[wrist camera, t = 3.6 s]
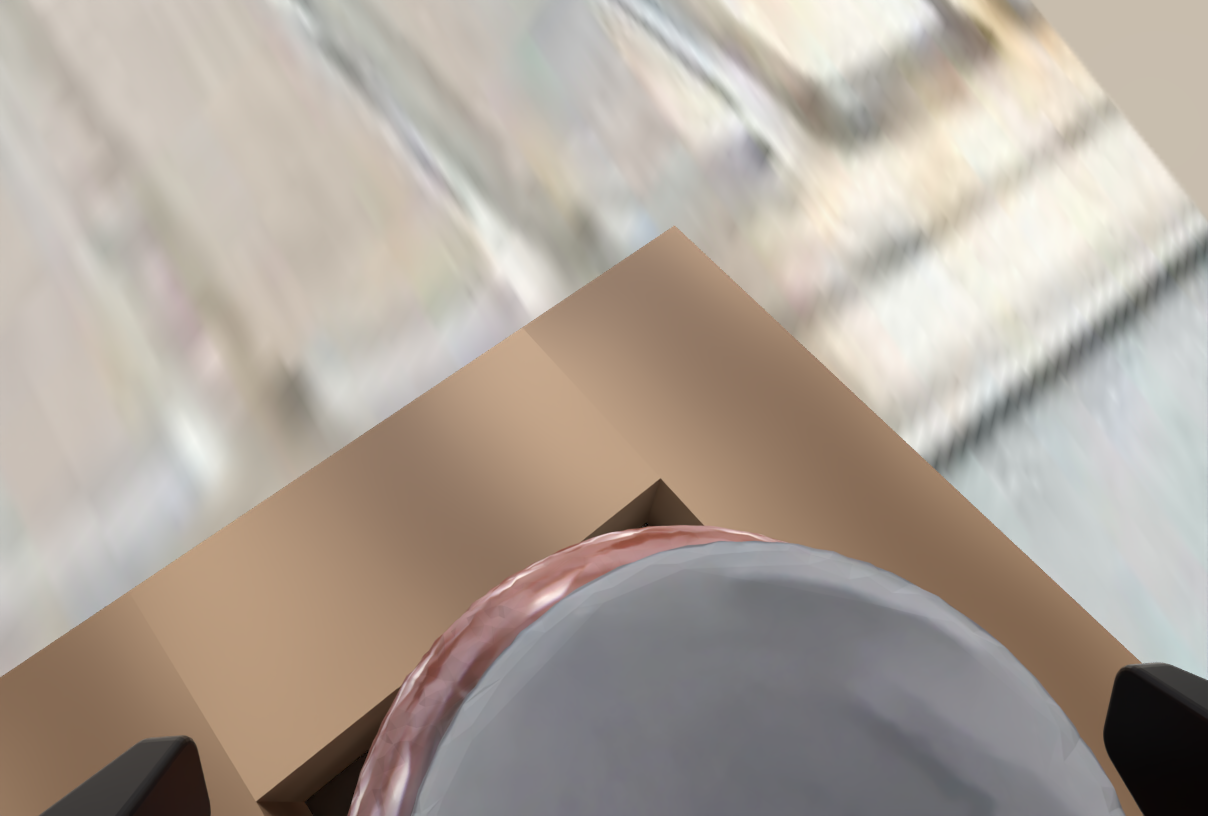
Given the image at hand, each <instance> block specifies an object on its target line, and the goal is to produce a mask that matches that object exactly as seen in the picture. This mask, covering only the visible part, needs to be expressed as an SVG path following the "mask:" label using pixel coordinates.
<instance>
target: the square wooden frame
mask: <svg viewBox="0 0 1208 816" xmlns="http://www.w3.org/2000/svg"><path fill="white" fill-rule="evenodd" d="M645 523H648V524H649V525H650V526H676V525H689V526H716V527H722V528H727V529H732V530H738V531H744V532H751V533H758V534H761V535H764V536H766V537H769V538H773V539H777V540H781V541H785V542H788V543H794V544H800V545H803V546H807V547H811V548H814V549H821V550H828V551H834V552H837V553H839V554H841V555H844V556H846V557H849V558H853V559H857V560H861V561H865V562H869V563H871V564H873V565H874V566H876V567H879V568H881V569H884V570H887V571H889V572H892V573H894V574H896V575H898V576H900V577H902V578H904V579H906V580H908V581H909V582H911V583H913V584H915V585H916V586H918V587H920V588H921V589H923V590H926V591H928V592H930V593H932V594H935V595H937V596H939V597H940V598H941V599H943V600H944V601H945V602H947V603H948V604H949V605H951V606H952V607H953V608H955V609H956V610H958V611H959V612H961V613H962V614H964V615H965V616H967V617H968V618H970V619H971V620H973V621H974V622H975V623H977V624H978V625H979V626H981V627H982V628H984V629H985V630H986V631H987V632H988V633H989V634H991V635H992V636H993V637H994V638H995V639H997V640H998V641H999V642H1000V643H1001V644H1002V645H1004V646H1005V647H1006V648H1007V649H1008V650H1009V651H1010V652H1011V653H1012V654H1013V655H1014V656H1015V657H1016V658H1017V659H1018V660H1019V661H1020V663H1021V664H1022V665H1024V666H1025V667H1026V668H1027V669H1028V670H1029V671H1030V672H1031V673H1032V674H1033V675H1034V676H1035V677H1036V678H1037V679H1038V681H1039V682H1040V683H1041V684H1042V686H1043V687H1044V688H1045V689H1046V691H1047V692H1048V693H1049V694H1050V696H1051V697H1052V698H1053V699H1054V700H1055V702H1056V703H1057V704H1058V705H1059V706H1060V707H1061V709H1062V710H1063V711H1064V713H1065V714H1066V715H1067V716H1068V718H1069V719H1070V720H1071V722H1072V723H1073V724H1074V726H1075V727H1076V729H1077V731H1078V733H1079V735H1080V737H1081V738H1082V739H1083V740H1084V742H1085V743H1086V744H1087V745H1088V746H1089V747H1090V748H1091V750H1092V752H1093V753H1094V755H1095V757H1096V758H1097V760H1098V761H1099V763H1100V765H1101V766H1102V768H1103V770H1104V771H1105V773H1106V775H1107V776H1108V778H1109V780H1110V781H1111V783H1112V785H1113V787H1114V789H1115V791H1116V794H1117V796H1118V799H1119V801H1120V804H1121V806H1122V809H1123V811H1124V813H1125V815H1126V816H1143V814H1142V812H1141V811H1140V809H1139V807H1138V806H1137V804H1136V802H1135V801H1134V799H1133V797H1132V795H1131V794H1130V792H1129V790H1128V789H1127V787H1126V785H1125V784H1124V782H1123V780H1122V779H1121V777H1120V775H1119V774H1118V772H1117V770H1116V768H1115V767H1114V765H1113V763H1112V762H1111V760H1110V758H1109V756H1108V754H1107V751H1106V748H1105V745H1104V740H1103V727H1104V723H1105V718H1106V714H1107V710H1108V705H1109V701H1110V697H1111V692H1112V688H1113V683H1114V679H1115V676H1116V674H1117V672H1118V671H1119V670H1120V669H1121V668H1122V667H1124V666H1126V665H1130V664H1142V663H1141V662H1140V661H1139V660H1138V659H1137V658H1136V657H1135V656H1134V655H1133V654H1132V653H1130V652H1129V651H1128V650H1127V649H1126V648H1125V647H1124V646H1123V645H1122V644H1121V643H1120V642H1119V641H1118V640H1117V639H1115V638H1114V637H1113V636H1112V635H1111V634H1110V633H1109V632H1108V631H1107V630H1106V629H1105V628H1104V627H1103V626H1102V625H1101V624H1099V623H1098V622H1097V621H1096V620H1095V619H1094V618H1093V617H1092V616H1091V615H1090V614H1089V613H1088V612H1087V611H1086V610H1085V609H1083V608H1082V607H1081V606H1080V605H1079V604H1078V603H1077V602H1076V601H1075V600H1074V599H1073V598H1072V597H1071V596H1070V595H1069V594H1067V593H1066V592H1065V591H1064V590H1063V589H1062V588H1061V587H1060V586H1059V585H1058V584H1057V583H1056V582H1055V581H1054V580H1052V579H1051V578H1050V577H1049V576H1048V575H1047V574H1046V573H1045V572H1044V571H1043V570H1042V569H1041V568H1040V567H1039V566H1038V565H1036V564H1035V563H1034V562H1033V561H1032V560H1031V559H1030V558H1029V557H1028V556H1027V555H1026V554H1025V553H1024V552H1023V551H1022V550H1020V549H1019V548H1018V547H1017V546H1016V545H1015V544H1014V543H1013V542H1012V541H1011V540H1010V539H1009V538H1008V537H1007V536H1006V535H1004V534H1003V533H1002V532H1001V531H1000V530H999V529H998V528H997V527H996V526H995V525H994V524H993V523H992V522H991V521H989V520H988V519H987V518H986V517H985V516H984V515H983V514H982V513H981V512H980V511H979V510H978V509H977V508H976V507H975V506H973V505H972V504H971V503H970V502H969V501H968V500H967V499H966V498H965V497H964V496H963V495H962V494H961V493H960V492H959V491H957V490H956V489H955V488H954V487H953V486H952V485H951V484H950V483H949V482H948V481H947V480H946V479H945V478H944V477H943V476H941V475H940V474H939V473H938V472H937V471H936V470H935V469H934V468H933V467H932V466H931V465H930V464H929V463H928V462H927V461H925V460H924V459H923V458H922V457H921V456H920V455H919V454H918V453H917V452H916V451H915V450H914V449H913V448H912V447H910V446H909V445H908V444H907V443H906V442H905V441H904V440H903V439H902V438H901V437H900V436H899V435H898V434H897V433H896V432H894V431H893V430H892V429H891V428H890V427H889V426H888V425H887V424H886V423H885V422H884V421H883V420H882V419H881V418H880V417H878V416H877V415H876V414H875V413H874V412H873V411H872V410H871V409H870V408H869V407H868V406H867V405H866V404H865V403H864V402H862V401H861V400H860V399H859V398H858V397H857V396H856V395H855V394H854V393H853V392H852V391H851V390H850V389H849V388H847V387H846V386H845V385H844V384H843V383H842V382H841V381H840V380H839V379H838V378H837V377H836V376H835V375H834V374H833V373H831V372H830V371H829V370H828V369H827V368H826V367H825V366H824V365H823V364H822V363H821V362H820V361H819V360H818V359H817V358H815V357H814V356H813V355H812V354H811V353H810V352H809V351H808V350H807V349H806V348H805V347H804V346H803V345H802V344H801V343H799V342H798V341H797V340H796V339H795V338H794V337H793V336H792V335H791V334H790V333H789V332H788V331H787V330H786V329H784V328H783V327H782V326H781V325H780V324H779V323H778V322H777V321H776V320H775V319H774V318H773V317H772V316H771V315H770V314H768V313H767V312H766V311H765V310H764V309H763V308H762V307H761V306H760V305H759V304H758V303H757V302H756V301H755V300H754V299H752V298H751V297H750V296H749V295H748V294H747V293H746V292H745V291H744V290H743V289H742V288H741V287H740V286H739V285H738V284H736V283H735V282H734V281H733V280H732V279H731V278H730V277H729V276H728V275H727V274H726V273H725V272H724V271H723V270H721V269H720V268H719V267H718V266H717V265H716V264H715V263H714V262H713V261H712V260H711V259H710V258H709V257H708V256H707V255H705V254H704V253H703V252H702V251H701V250H700V249H699V248H698V247H697V246H696V245H695V244H694V243H693V242H692V241H691V240H689V239H688V238H687V237H686V236H685V235H684V234H683V233H682V232H681V231H680V230H679V229H678V228H677V227H676V226H673V227H672V228H670V229H669V230H667V231H666V232H664V233H663V234H661V235H660V236H658V237H657V238H655V239H654V240H652V241H651V242H649V243H648V244H646V245H645V246H643V247H642V248H640V249H639V250H637V251H636V252H634V253H633V254H631V255H630V256H628V257H627V258H625V259H624V260H622V261H621V262H619V263H618V264H616V265H615V266H613V267H612V268H611V269H609V270H608V271H606V272H605V273H603V274H602V275H600V276H599V277H597V278H596V279H594V280H593V281H591V282H590V283H588V284H587V285H585V286H584V287H582V288H581V289H579V290H578V291H576V292H575V293H573V294H572V295H570V296H569V297H567V298H566V299H564V300H563V301H561V302H560V303H558V304H557V305H555V306H554V307H552V308H551V309H549V310H548V311H546V312H545V313H543V314H542V315H540V316H539V317H537V318H536V319H534V320H533V321H531V322H530V323H528V324H527V325H525V326H524V327H522V328H521V329H520V330H518V331H517V332H515V333H514V334H512V335H511V336H509V337H508V338H506V339H505V340H503V341H502V342H500V343H499V344H497V345H496V346H494V347H493V348H491V349H490V350H488V351H487V352H485V353H484V354H482V355H481V356H479V357H478V358H476V359H475V360H473V361H472V362H470V363H469V364H467V365H466V366H464V367H463V368H461V369H460V370H458V371H457V372H455V373H454V374H452V375H451V376H449V377H448V378H446V379H445V380H443V381H442V382H440V383H439V384H437V385H436V386H434V387H433V388H431V389H430V390H428V391H427V392H426V393H424V394H423V395H421V396H420V397H418V398H417V399H415V400H414V401H412V402H411V403H409V404H408V405H406V406H405V407H403V408H402V409H400V410H399V411H397V412H396V413H394V414H393V415H391V416H390V417H388V418H387V419H385V420H384V421H382V422H381V423H379V424H378V425H376V426H375V427H373V428H372V429H370V430H369V431H367V432H366V433H364V434H363V435H361V436H360V437H358V438H357V439H355V440H354V441H352V442H351V443H349V444H348V445H346V446H345V447H343V448H342V449H340V450H339V451H337V452H336V453H334V454H333V455H332V456H330V457H329V458H327V459H326V460H324V461H323V462H321V463H320V464H318V465H317V466H315V467H314V468H312V469H311V470H309V471H308V472H306V473H305V474H303V475H302V476H300V477H299V478H297V479H296V480H294V481H293V482H291V483H290V484H288V485H287V486H285V487H284V488H282V489H281V490H279V491H278V492H276V493H275V494H273V495H272V496H270V497H269V498H267V499H266V500H264V501H263V502H261V503H260V504H258V505H257V506H255V507H254V508H252V509H251V510H249V511H248V512H246V513H245V514H243V515H242V516H240V517H239V518H238V519H236V520H235V521H233V522H232V523H230V524H229V525H227V526H226V527H224V528H223V529H221V530H220V531H218V532H217V533H215V534H214V535H212V536H211V537H209V538H208V539H206V540H205V541H203V542H202V543H200V544H199V545H197V546H196V547H194V548H193V549H191V550H190V551H188V552H187V553H185V554H184V555H182V556H181V557H179V558H178V559H176V560H175V561H173V562H172V563H170V564H169V565H167V566H166V567H164V568H163V569H161V570H160V571H158V572H157V573H155V574H154V575H152V576H151V577H149V578H148V579H146V580H145V581H144V582H142V583H141V584H139V585H138V586H136V587H135V588H133V589H132V590H130V591H129V592H127V593H126V594H124V595H123V596H121V597H120V598H118V599H117V600H115V601H114V602H112V603H111V604H109V605H108V606H106V607H105V608H103V609H102V610H100V611H99V612H97V613H96V614H94V615H93V616H91V617H90V618H88V619H87V620H85V621H84V622H82V623H81V624H79V625H78V626H76V627H75V628H73V629H72V630H70V631H69V632H67V633H66V634H64V635H63V636H61V637H60V638H58V639H57V640H55V641H54V642H52V643H51V644H50V645H48V646H47V647H45V648H44V649H42V650H41V651H39V652H38V653H36V654H35V655H33V656H32V657H30V658H29V659H27V660H26V661H24V662H23V663H21V664H20V665H18V666H17V667H15V668H14V669H12V670H11V671H9V672H8V673H6V674H5V675H3V676H2V677H0V816H38V815H40V814H41V813H42V812H44V811H45V810H47V809H48V808H49V807H51V806H52V805H53V804H55V803H56V802H57V801H59V800H60V799H62V798H63V797H64V796H66V795H67V794H68V793H70V792H71V791H72V790H74V789H75V788H76V787H78V786H79V785H81V784H82V783H83V782H85V781H86V780H87V779H89V778H90V777H91V776H93V775H94V774H95V773H97V772H98V771H100V770H101V769H102V768H104V767H105V766H106V765H108V764H109V763H110V762H112V761H113V760H114V759H116V758H117V757H119V756H120V755H121V754H123V753H124V752H125V751H127V750H128V749H129V748H131V747H132V746H133V745H135V744H136V743H138V742H140V741H141V740H143V739H147V738H151V737H164V736H178V735H186V736H189V737H191V738H192V739H193V740H194V742H195V743H196V746H197V748H198V752H199V756H200V761H201V765H202V769H203V774H204V778H205V782H206V787H207V791H208V795H209V800H210V806H211V816H313V815H312V813H311V812H310V810H309V808H308V807H307V805H306V804H305V801H306V800H307V799H309V798H310V797H311V796H312V795H313V794H315V793H316V792H317V791H318V790H320V789H321V788H322V787H323V786H325V785H326V784H327V783H328V782H329V781H331V780H332V779H333V778H334V777H336V776H337V775H338V774H339V773H340V772H342V771H343V770H344V769H345V768H347V767H348V766H349V765H350V764H351V763H353V762H354V761H355V760H356V759H358V758H359V757H360V756H361V755H362V754H364V753H365V752H366V751H367V750H369V749H370V747H371V745H372V742H373V740H374V738H375V737H376V735H377V733H378V730H379V728H380V725H381V723H382V721H383V719H384V717H385V716H386V714H387V712H388V710H389V709H390V707H391V705H392V703H393V701H394V699H395V697H396V695H397V693H398V691H399V689H400V687H401V685H402V683H403V681H404V679H405V677H406V676H407V675H408V674H409V673H411V672H412V671H413V670H414V669H415V668H416V666H417V665H418V663H419V662H420V661H421V659H422V657H423V655H424V654H426V653H427V652H428V651H429V649H430V648H431V646H432V644H433V643H434V641H435V640H436V639H437V638H438V637H440V636H441V635H442V634H443V633H444V632H446V630H447V629H448V628H449V627H450V626H451V625H452V624H453V623H454V622H455V621H456V620H457V619H459V618H460V617H461V616H462V615H463V614H464V613H465V611H466V610H467V609H468V608H469V607H470V606H471V604H472V603H473V602H475V601H476V600H478V599H480V598H481V597H483V596H484V595H486V594H487V593H488V591H489V590H490V589H492V588H494V587H495V586H497V585H499V584H500V583H501V582H502V581H503V580H505V579H506V578H507V577H509V576H511V575H513V574H515V573H517V572H519V571H521V570H523V569H525V568H526V567H527V566H529V565H531V564H533V563H534V562H537V561H540V560H542V559H544V558H546V557H548V556H550V555H552V554H554V553H555V552H557V551H559V550H561V549H564V548H566V547H568V546H571V545H574V544H577V543H580V542H583V541H585V540H588V539H591V538H593V537H597V536H600V535H603V534H606V533H611V532H619V531H624V530H628V529H638V528H640V527H642V526H643V525H644V524H645Z"/></svg>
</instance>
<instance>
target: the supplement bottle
mask: <svg viewBox="0 0 1208 816" xmlns="http://www.w3.org/2000/svg"><path fill="white" fill-rule="evenodd" d="M347 816H1126V815H1125V813H1124V811H1123V809H1122V806H1121V804H1120V801H1119V799H1118V796H1117V794H1116V791H1115V789H1114V787H1113V785H1112V783H1111V781H1110V780H1109V778H1108V776H1107V775H1106V773H1105V771H1104V770H1103V768H1102V766H1101V765H1100V763H1099V761H1098V760H1097V758H1096V757H1095V755H1094V753H1093V752H1092V750H1091V748H1090V747H1089V746H1088V745H1087V744H1086V743H1085V742H1084V740H1083V739H1082V738H1081V737H1080V735H1079V733H1078V731H1077V729H1076V727H1075V726H1074V724H1073V723H1072V722H1071V720H1070V719H1069V718H1068V716H1067V715H1066V714H1065V713H1064V711H1063V710H1062V709H1061V707H1060V706H1059V705H1058V704H1057V703H1056V702H1055V700H1054V699H1053V698H1052V697H1051V696H1050V694H1049V693H1048V692H1047V691H1046V689H1045V688H1044V687H1043V686H1042V684H1041V683H1040V682H1039V681H1038V679H1037V678H1036V677H1035V676H1034V675H1033V674H1032V673H1031V672H1030V671H1029V670H1028V669H1027V668H1026V667H1025V666H1024V665H1022V664H1021V663H1020V661H1019V660H1018V659H1017V658H1016V657H1015V656H1014V655H1013V654H1012V653H1011V652H1010V651H1009V650H1008V649H1007V648H1006V647H1005V646H1004V645H1002V644H1001V643H1000V642H999V641H998V640H997V639H995V638H994V637H993V636H992V635H991V634H989V633H988V632H987V631H986V630H985V629H984V628H982V627H981V626H979V625H978V624H977V623H975V622H974V621H973V620H971V619H970V618H968V617H967V616H965V615H964V614H962V613H961V612H959V611H958V610H956V609H955V608H953V607H952V606H951V605H949V604H948V603H947V602H945V601H944V600H943V599H941V598H940V597H939V596H937V595H935V594H932V593H930V592H928V591H926V590H923V589H921V588H920V587H918V586H916V585H915V584H913V583H911V582H909V581H908V580H906V579H904V578H902V577H900V576H898V575H896V574H894V573H892V572H889V571H887V570H884V569H881V568H879V567H876V566H874V565H873V564H871V563H869V562H865V561H861V560H857V559H853V558H849V557H846V556H844V555H841V554H839V553H837V552H834V551H828V550H821V549H814V548H811V547H807V546H803V545H800V544H794V543H788V542H785V541H781V540H777V539H773V538H769V537H766V536H764V535H761V534H758V533H751V532H744V531H738V530H732V529H727V528H722V527H716V526H689V525H676V526H648V527H643V528H638V529H628V530H624V531H619V532H611V533H606V534H603V535H600V536H597V537H593V538H591V539H588V540H585V541H583V542H580V543H577V544H574V545H571V546H568V547H566V548H564V549H561V550H559V551H557V552H555V553H554V554H552V555H550V556H548V557H546V558H544V559H542V560H540V561H537V562H534V563H533V564H531V565H529V566H527V567H526V568H525V569H523V570H521V571H519V572H517V573H515V574H513V575H511V576H509V577H507V578H506V579H505V580H503V581H502V582H501V583H500V584H499V585H497V586H495V587H494V588H492V589H490V590H489V591H488V593H487V594H486V595H484V596H483V597H481V598H480V599H478V600H476V601H475V602H473V603H472V604H471V606H470V607H469V608H468V609H467V610H466V611H465V613H464V614H463V615H462V616H461V617H460V618H459V619H457V620H456V621H455V622H454V623H453V624H452V625H451V626H450V627H449V628H448V629H447V630H446V632H444V633H443V634H442V635H441V636H440V637H438V638H437V639H436V640H435V641H434V643H433V644H432V646H431V648H430V649H429V651H428V652H427V653H426V654H424V655H423V657H422V659H421V661H420V662H419V663H418V665H417V666H416V668H415V669H414V670H413V671H412V672H411V673H409V674H408V675H407V676H406V677H405V679H404V681H403V683H402V685H401V687H400V689H399V691H398V693H397V695H396V697H395V699H394V701H393V703H392V705H391V707H390V709H389V710H388V712H387V714H386V716H385V717H384V719H383V721H382V723H381V725H380V728H379V730H378V733H377V735H376V737H375V738H374V740H373V742H372V745H371V747H370V750H369V753H368V755H367V758H366V760H365V762H364V765H363V767H362V769H361V772H360V775H359V779H358V783H357V786H356V789H355V792H354V796H353V799H352V802H351V806H350V809H349V812H348V815H347Z"/></svg>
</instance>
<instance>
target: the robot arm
mask: <svg viewBox="0 0 1208 816" xmlns="http://www.w3.org/2000/svg"><path fill="white" fill-rule="evenodd" d="M1103 740H1104V745H1105V748H1106V751H1107V754H1108V756H1109V758H1110V760H1111V762H1112V763H1113V765H1114V767H1115V768H1116V770H1117V772H1118V774H1119V775H1120V777H1121V779H1122V780H1123V782H1124V784H1125V785H1126V787H1127V789H1128V790H1129V792H1130V794H1131V795H1132V797H1133V799H1134V801H1135V802H1136V804H1137V806H1138V807H1139V809H1140V811H1141V812H1142V814H1143V816H1208V680H1206V679H1203V678H1201V677H1199V676H1196V675H1194V674H1192V673H1189V672H1187V671H1184V670H1182V669H1180V668H1177V667H1175V666H1173V665H1170V664H1166V663H1143V664H1130V665H1126V666H1124V667H1122V668H1121V669H1120V670H1119V671H1118V672H1117V674H1116V676H1115V679H1114V683H1113V688H1112V692H1111V697H1110V701H1109V705H1108V710H1107V714H1106V718H1105V723H1104V727H1103ZM38 816H211V806H210V800H209V795H208V791H207V787H206V782H205V778H204V774H203V769H202V765H201V761H200V756H199V752H198V748H197V746H196V743H195V742H194V740H193V739H192V738H191V737H189V736H186V735H178V736H164V737H151V738H147V739H143V740H141V741H140V742H138V743H136V744H135V745H133V746H132V747H131V748H129V749H128V750H127V751H125V752H124V753H123V754H121V755H120V756H119V757H117V758H116V759H114V760H113V761H112V762H110V763H109V764H108V765H106V766H105V767H104V768H102V769H101V770H100V771H98V772H97V773H95V774H94V775H93V776H91V777H90V778H89V779H87V780H86V781H85V782H83V783H82V784H81V785H79V786H78V787H76V788H75V789H74V790H72V791H71V792H70V793H68V794H67V795H66V796H64V797H63V798H62V799H60V800H59V801H57V802H56V803H55V804H53V805H52V806H51V807H49V808H48V809H47V810H45V811H44V812H42V813H41V814H40V815H38Z"/></svg>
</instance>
